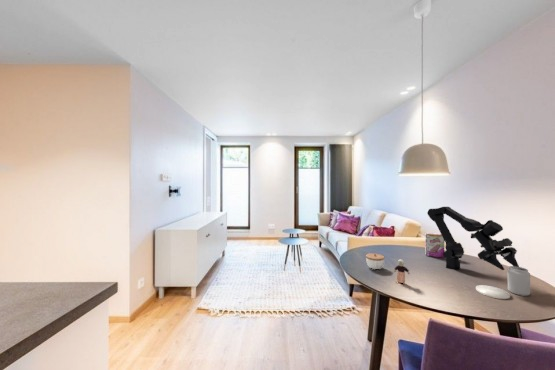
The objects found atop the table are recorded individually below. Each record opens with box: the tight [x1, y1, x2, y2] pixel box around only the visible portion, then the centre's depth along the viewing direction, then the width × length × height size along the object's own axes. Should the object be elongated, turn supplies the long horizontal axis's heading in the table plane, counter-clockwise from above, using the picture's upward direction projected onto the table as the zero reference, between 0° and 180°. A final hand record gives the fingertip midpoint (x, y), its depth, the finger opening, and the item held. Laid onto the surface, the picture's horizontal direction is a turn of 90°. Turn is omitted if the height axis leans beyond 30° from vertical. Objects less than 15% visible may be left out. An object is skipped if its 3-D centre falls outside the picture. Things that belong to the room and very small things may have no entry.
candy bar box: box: [424, 232, 445, 259], centre depth 164 cm, size 11×5×16 cm, turn 65°
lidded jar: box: [365, 252, 385, 270], centre depth 143 cm, size 11×11×9 cm
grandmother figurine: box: [393, 259, 411, 285], centre depth 122 cm, size 8×4×13 cm, turn 66°
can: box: [506, 265, 531, 297], centre depth 109 cm, size 8×8×12 cm
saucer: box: [475, 284, 511, 300], centre depth 109 cm, size 12×12×1 cm
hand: (511, 268), depth 112 cm, fingers open, 9 cm apart
